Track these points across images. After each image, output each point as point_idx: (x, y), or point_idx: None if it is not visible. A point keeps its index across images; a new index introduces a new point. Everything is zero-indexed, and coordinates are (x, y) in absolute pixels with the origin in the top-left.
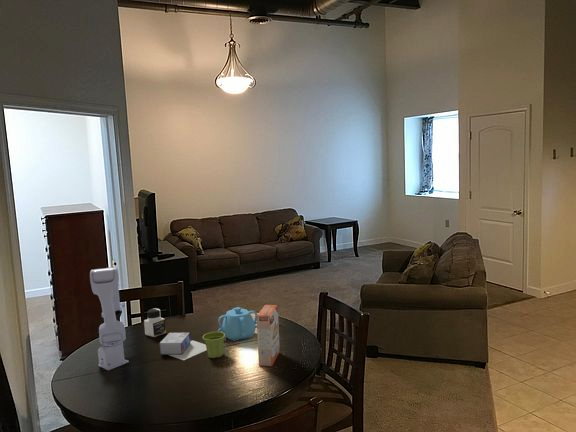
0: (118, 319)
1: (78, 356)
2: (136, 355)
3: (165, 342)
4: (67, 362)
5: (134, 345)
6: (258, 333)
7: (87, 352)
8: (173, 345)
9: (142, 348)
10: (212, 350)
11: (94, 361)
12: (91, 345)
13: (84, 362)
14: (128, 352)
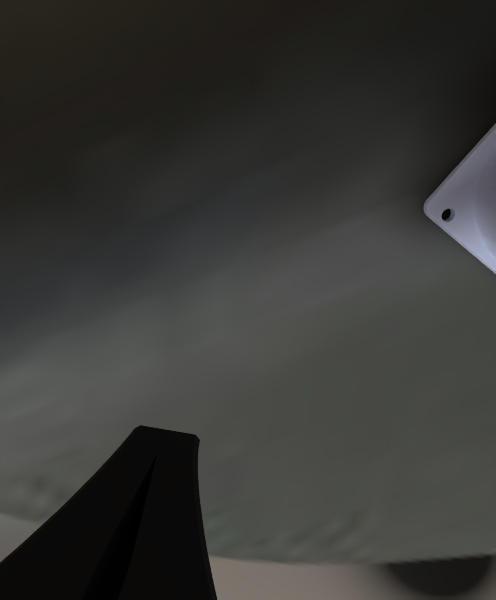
0: (68, 585)
1: (322, 530)
2: (380, 16)
3: None
4: (418, 556)
5: (97, 167)
6: None
7: (253, 503)
8: None
9: (175, 23)
10: None
11: (446, 397)
12: None
13: (447, 459)
14: (281, 160)
